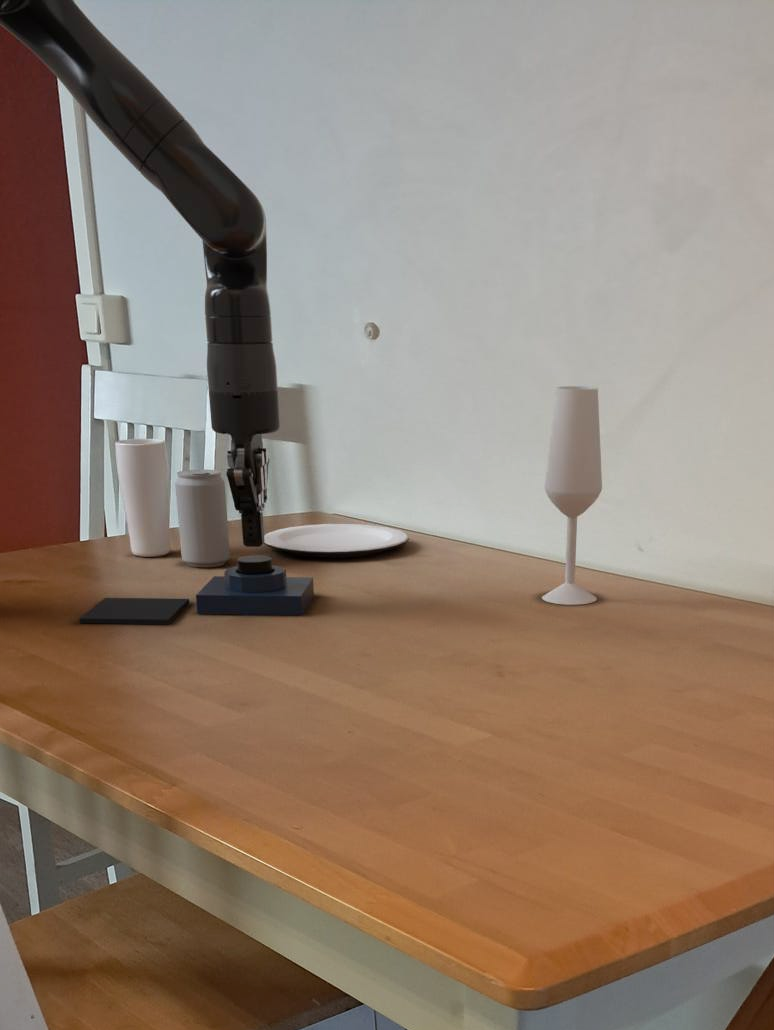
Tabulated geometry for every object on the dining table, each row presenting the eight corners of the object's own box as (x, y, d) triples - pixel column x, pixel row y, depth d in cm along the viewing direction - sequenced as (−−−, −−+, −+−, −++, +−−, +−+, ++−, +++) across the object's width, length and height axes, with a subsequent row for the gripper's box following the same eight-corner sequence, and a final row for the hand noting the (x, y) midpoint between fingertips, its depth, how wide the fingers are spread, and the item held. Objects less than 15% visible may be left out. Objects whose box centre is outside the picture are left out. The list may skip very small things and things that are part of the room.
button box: (197, 614, 146) (194, 579, 144) (215, 594, 155) (212, 561, 153) (301, 615, 145) (300, 580, 144) (313, 595, 154) (312, 562, 153)
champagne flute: (536, 593, 156) (541, 385, 147) (588, 591, 158) (597, 385, 148) (548, 605, 150) (555, 390, 141) (603, 603, 152) (613, 390, 142)
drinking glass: (117, 553, 177) (104, 441, 171) (160, 547, 181) (149, 437, 175) (141, 561, 172) (129, 445, 166) (185, 554, 177) (175, 441, 170)
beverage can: (192, 570, 167) (184, 476, 162) (175, 561, 172) (167, 470, 167) (237, 565, 170) (231, 472, 165) (220, 557, 175) (213, 466, 170)
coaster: (79, 623, 141) (78, 618, 141) (105, 602, 150) (104, 597, 150) (169, 624, 141) (168, 619, 141) (189, 603, 150) (189, 598, 150)
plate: (297, 568, 169) (296, 555, 168) (240, 542, 185) (239, 530, 184) (434, 553, 179) (434, 541, 178) (369, 530, 195) (369, 518, 194)
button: (234, 577, 147) (233, 562, 146) (241, 570, 150) (240, 555, 150) (269, 577, 147) (268, 562, 146) (275, 570, 150) (274, 555, 150)
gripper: (221, 382, 146) (233, 535, 153) (195, 391, 134) (209, 556, 141) (286, 382, 146) (295, 535, 153) (266, 391, 134) (276, 557, 141)
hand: (254, 545), depth 147 cm, fingers closed
